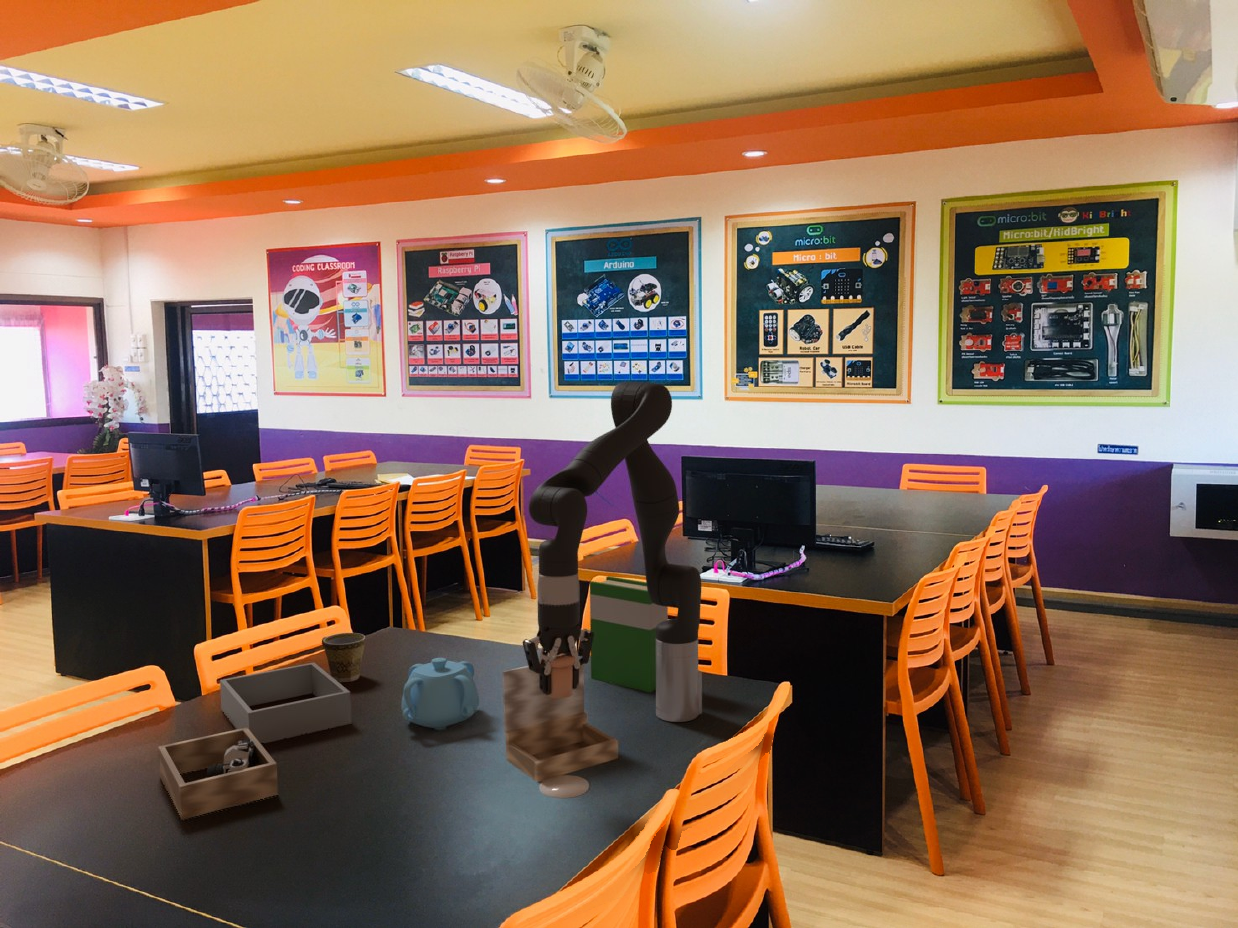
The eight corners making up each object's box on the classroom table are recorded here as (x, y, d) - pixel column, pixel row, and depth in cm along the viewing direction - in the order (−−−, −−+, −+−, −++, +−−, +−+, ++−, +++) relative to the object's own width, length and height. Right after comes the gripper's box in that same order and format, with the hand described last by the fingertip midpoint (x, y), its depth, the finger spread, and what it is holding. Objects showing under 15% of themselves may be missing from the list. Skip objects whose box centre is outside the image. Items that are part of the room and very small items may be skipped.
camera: (214, 777, 179) (210, 732, 178) (258, 771, 182) (254, 727, 180) (205, 813, 167) (200, 766, 165) (252, 806, 169) (248, 759, 168)
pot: (565, 686, 176) (564, 649, 175) (581, 695, 171) (581, 657, 171) (537, 692, 173) (537, 654, 172) (553, 701, 168) (553, 662, 167)
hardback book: (591, 678, 233) (589, 581, 230) (609, 670, 239) (608, 576, 236) (650, 692, 222) (649, 591, 220) (667, 683, 228) (667, 585, 226)
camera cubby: (248, 756, 188) (247, 727, 188) (278, 795, 171) (276, 763, 170) (159, 777, 179) (158, 746, 179) (181, 820, 162) (179, 786, 161)
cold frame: (580, 738, 196) (579, 652, 194) (618, 760, 185) (617, 670, 183) (502, 759, 186) (500, 669, 184) (537, 784, 175) (535, 689, 173)
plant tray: (315, 691, 226) (314, 662, 225) (351, 723, 205) (350, 691, 204) (221, 710, 214) (219, 680, 213) (250, 746, 193) (248, 713, 192)
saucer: (572, 774, 179) (572, 771, 179) (598, 791, 172) (598, 788, 171) (530, 786, 174) (530, 783, 174) (555, 805, 166) (555, 801, 166)
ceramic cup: (375, 675, 236) (373, 636, 235) (344, 687, 228) (342, 646, 227) (339, 667, 243) (337, 628, 242) (307, 678, 235) (305, 638, 234)
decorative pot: (473, 734, 199) (471, 671, 197) (395, 735, 198) (393, 671, 197) (483, 706, 215) (481, 647, 213) (411, 707, 215) (409, 648, 213)
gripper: (581, 589, 177) (582, 678, 179) (513, 599, 170) (514, 692, 171) (603, 596, 171) (603, 689, 173) (533, 607, 163) (534, 704, 165)
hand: (559, 690), depth 172 cm, fingers closed on pot, 4 cm apart
